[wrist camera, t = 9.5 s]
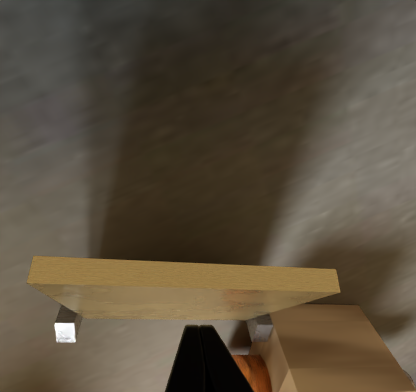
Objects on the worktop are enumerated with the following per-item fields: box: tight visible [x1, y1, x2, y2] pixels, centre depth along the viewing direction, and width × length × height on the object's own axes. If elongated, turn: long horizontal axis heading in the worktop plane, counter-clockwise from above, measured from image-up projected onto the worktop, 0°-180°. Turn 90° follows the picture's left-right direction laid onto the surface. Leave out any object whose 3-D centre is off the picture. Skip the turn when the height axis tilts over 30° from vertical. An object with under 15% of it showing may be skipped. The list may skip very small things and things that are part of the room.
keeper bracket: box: [55, 305, 273, 342], centre depth 19 cm, size 2×13×2 cm, turn 81°
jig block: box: [248, 304, 416, 392], centre depth 21 cm, size 10×7×6 cm
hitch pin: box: [232, 355, 416, 392], centre depth 21 cm, size 4×13×4 cm, turn 81°
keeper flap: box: [27, 256, 340, 320], centre depth 15 cm, size 11×10×1 cm
